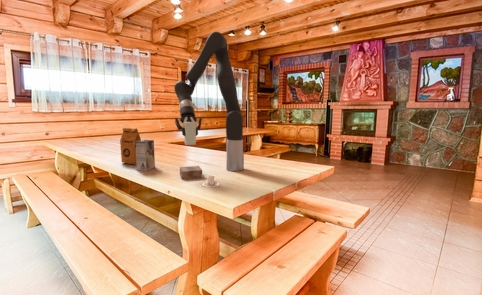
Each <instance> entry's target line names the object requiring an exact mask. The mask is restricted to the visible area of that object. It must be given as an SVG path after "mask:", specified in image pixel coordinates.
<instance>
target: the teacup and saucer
mask: <svg viewBox="0 0 482 295" xmlns="http://www.w3.org/2000/svg"><path fill="white" fill-rule="evenodd" d="M206 184H208V185H206ZM215 184H216V185H215ZM201 185H202V186H204V187H207V188H214V187H218V186H219V185H220V182H218V181H217V179H216V178H215V176H214V175H208V176H207V181H206V182H203V183H202V184H201Z"/></svg>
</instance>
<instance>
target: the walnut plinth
mask: <svg viewBox="0 0 482 295" xmlns="http://www.w3.org/2000/svg"><path fill="white" fill-rule="evenodd" d="M179 175H180V178H181V180H192V179H193V180H195V179H203V169H202V168H201V167H200V166H199V165H191V166H180V167H179Z"/></svg>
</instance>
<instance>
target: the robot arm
mask: <svg viewBox="0 0 482 295" xmlns="http://www.w3.org/2000/svg"><path fill="white" fill-rule="evenodd" d="M213 56H215V60H216V78H217V83H218V87H219V92H220V93H221V96H222V98H223V101H224V103H225V104H224V105H225V109H226V118H225V135H226V136H225V137H226V157H225V158H226V159H225V160H226V165H225V166H226V168H225V169H226V171H229V172H230V171H231V172H239V171H243V170H244V167H245V155H244V144H243V142H244V133H243V132H244V130H243V129H244V128H243V127H244V126H243V125H244V122H243V121H244V115H243V113H242V109H241V108H240V104H239V100H238V91H237V85H236V80H235V75H234V71H233V66H232V64H231V61H230V57H229V48H228V42H227V39H226V37H225V35H223V34H222V33H221V32H219V31H213V32H211V33H210V34H209V35H208V37H207V39H206V41H205V42H204V45H203V48H202V49H201V51H200V53H199V54H198V57H197V58H196V60H195V62H194V63H193V64H192V66H191V67H190V69H188V71H187V73H186V74H185V78H186V80H188V81H189V83H187V82H185V81H183V80H177V82H175V84H174V86H173V87H174V93H175V95H176V97H177V98H178V102H179V115H180V117H179V118H177V117H176V118H174V124H175V126H176V127H177V130H178V131H181V132H182V136H183V137H184V136H185V135H186V133H185V125H184V122H197V123H196V137H198V135H199V131H200V130H201V126H202V120H203V118H202V117H201V118H200V117H199V118H197V117H196V113H195V112H196V111H195V107H194V103H193V98H192V95H193V94H194V91H195V88H196V86H197V83H198V81H199V80H200V78H201V77H202V76H203V74H204V72H205V71H206V69H207V66H208V65H209V62H210V60H211V58H212V57H213ZM181 124H182V125H181ZM197 124H198V125H197Z"/></svg>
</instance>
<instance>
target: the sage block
mask: <svg viewBox="0 0 482 295" xmlns="http://www.w3.org/2000/svg"><path fill="white" fill-rule="evenodd" d="M196 122H197V121H196ZM196 122H184V125H185V133H186V135H185V136H184V135H183V137H184V145H185V146H189V145H190V146H191V145H194V146H195V145H197V136H196V125H197V123H196Z"/></svg>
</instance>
